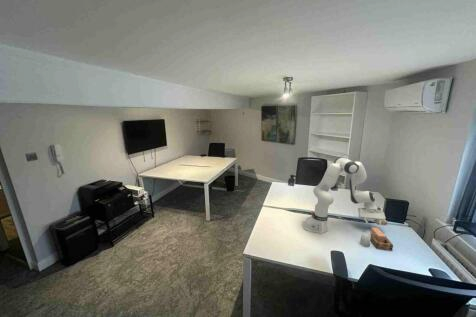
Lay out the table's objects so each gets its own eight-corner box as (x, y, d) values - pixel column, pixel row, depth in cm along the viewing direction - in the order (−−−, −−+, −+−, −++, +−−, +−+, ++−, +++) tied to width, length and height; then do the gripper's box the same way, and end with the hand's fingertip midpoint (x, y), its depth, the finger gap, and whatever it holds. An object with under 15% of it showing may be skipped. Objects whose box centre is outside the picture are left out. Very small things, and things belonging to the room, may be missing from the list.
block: (376, 244, 152) (378, 235, 151) (370, 235, 164) (371, 227, 162) (383, 245, 151) (385, 236, 149) (376, 236, 163) (378, 227, 161)
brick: (387, 226, 177) (387, 221, 176) (376, 224, 180) (377, 220, 179) (380, 217, 192) (381, 213, 191) (370, 215, 195) (371, 211, 194)
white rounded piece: (361, 246, 150) (363, 236, 148) (358, 241, 157) (360, 231, 154) (370, 247, 149) (372, 237, 147) (367, 242, 155) (369, 232, 153)
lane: (375, 248, 147) (376, 243, 146) (369, 239, 159) (370, 233, 158) (392, 250, 145) (393, 245, 144) (384, 240, 156) (385, 235, 155)
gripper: (358, 206, 171) (361, 221, 164) (384, 208, 167) (388, 224, 160) (356, 208, 177) (358, 223, 170) (381, 210, 172) (384, 226, 165)
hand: (373, 224), depth 165 cm, fingers open, 8 cm apart
